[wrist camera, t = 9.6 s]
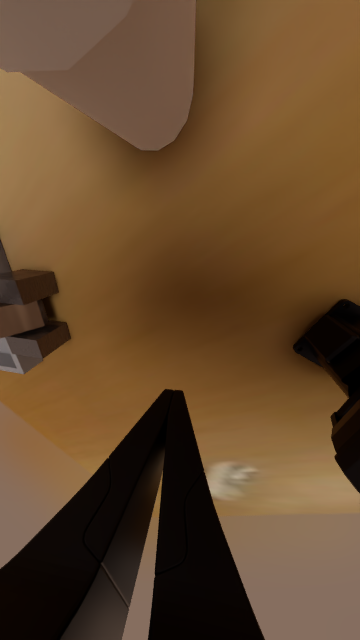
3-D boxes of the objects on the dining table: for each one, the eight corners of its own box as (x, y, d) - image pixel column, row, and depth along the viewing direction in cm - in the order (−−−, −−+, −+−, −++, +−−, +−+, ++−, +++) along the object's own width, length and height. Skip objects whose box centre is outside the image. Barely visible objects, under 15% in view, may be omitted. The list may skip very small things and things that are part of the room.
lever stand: (53, 271, 20) (15, 280, 16) (70, 338, 24) (42, 358, 20) (22, 269, 21) (-22, 277, 17) (44, 335, 25) (12, 353, 21)
